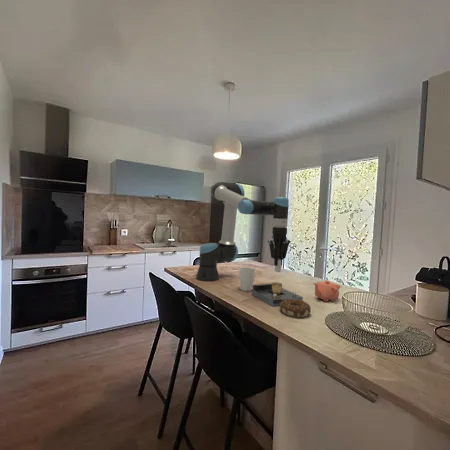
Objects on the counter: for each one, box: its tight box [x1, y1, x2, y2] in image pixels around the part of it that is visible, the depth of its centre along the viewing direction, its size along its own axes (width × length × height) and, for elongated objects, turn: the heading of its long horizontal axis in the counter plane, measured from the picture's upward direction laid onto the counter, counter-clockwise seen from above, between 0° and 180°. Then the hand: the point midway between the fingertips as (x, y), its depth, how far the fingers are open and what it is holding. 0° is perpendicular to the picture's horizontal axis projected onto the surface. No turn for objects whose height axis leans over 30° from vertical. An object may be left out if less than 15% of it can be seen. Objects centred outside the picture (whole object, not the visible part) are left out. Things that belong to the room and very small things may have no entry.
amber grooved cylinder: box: [271, 282, 283, 295], centre depth 140 cm, size 5×5×8 cm
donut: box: [279, 299, 311, 318], centre depth 122 cm, size 14×14×5 cm
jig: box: [251, 283, 304, 308], centre depth 141 cm, size 20×18×5 cm
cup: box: [238, 267, 256, 292], centre depth 156 cm, size 9×9×12 cm
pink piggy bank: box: [312, 280, 341, 303], centre depth 143 cm, size 14×12×10 cm
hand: (277, 271), depth 140 cm, fingers closed
